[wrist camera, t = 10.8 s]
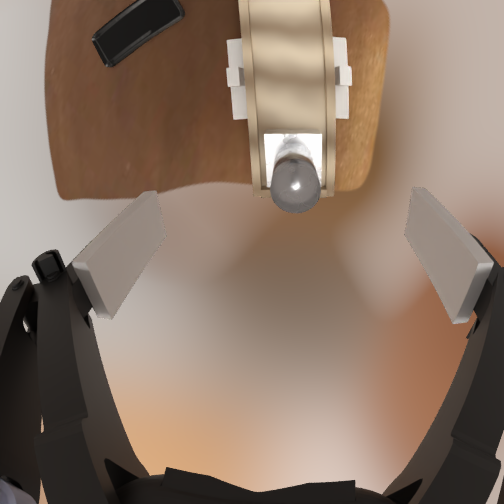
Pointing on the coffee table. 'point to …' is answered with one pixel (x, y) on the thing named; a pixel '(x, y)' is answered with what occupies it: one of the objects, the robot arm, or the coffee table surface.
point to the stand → (238, 84)
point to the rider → (294, 167)
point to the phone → (135, 28)
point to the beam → (289, 78)
